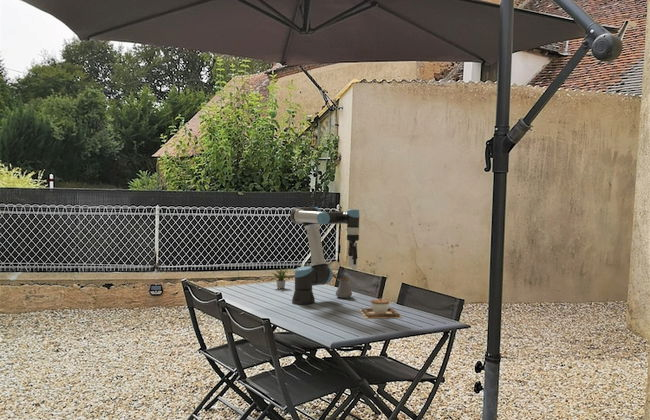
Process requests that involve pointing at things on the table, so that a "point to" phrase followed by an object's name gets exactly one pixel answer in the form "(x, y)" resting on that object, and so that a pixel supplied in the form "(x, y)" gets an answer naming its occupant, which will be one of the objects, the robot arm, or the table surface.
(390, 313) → the wooden square tray
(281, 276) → the house plant
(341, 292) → the coffee pot
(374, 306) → the lidded jar
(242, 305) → the table surface
